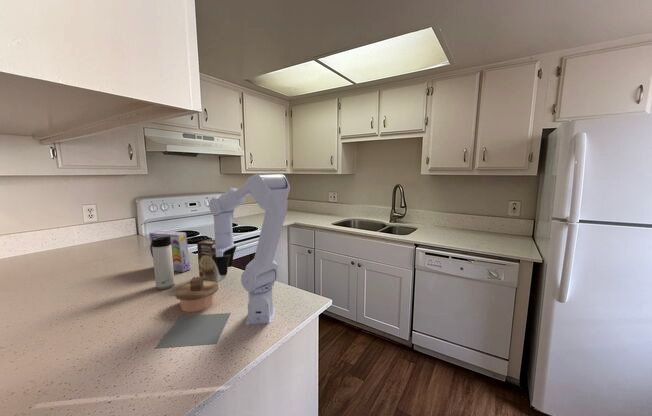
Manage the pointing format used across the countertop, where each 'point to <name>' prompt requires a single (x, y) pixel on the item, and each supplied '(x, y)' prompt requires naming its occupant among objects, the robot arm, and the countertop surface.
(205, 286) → the lid
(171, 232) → the cake pan box
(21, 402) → the countertop surface
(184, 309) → the bowl
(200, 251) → the coffee box
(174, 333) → the mat
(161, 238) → the travel mug
